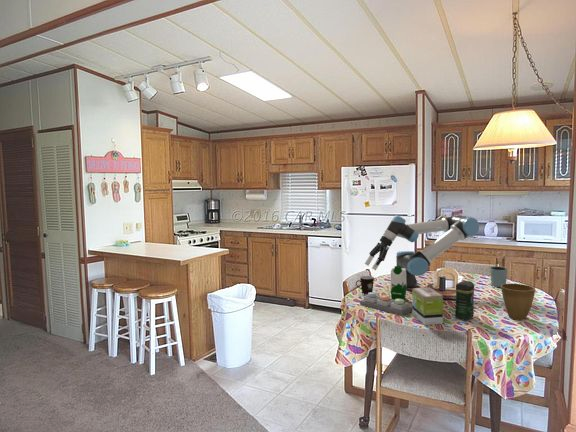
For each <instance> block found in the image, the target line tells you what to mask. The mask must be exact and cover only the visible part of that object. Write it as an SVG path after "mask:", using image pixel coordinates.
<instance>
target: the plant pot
mask: <svg viewBox="0 0 576 432" xmlns="http://www.w3.org/2000/svg"><path fill="white" fill-rule="evenodd" d="M500 289H501V295H502V300H503V304H504V306H505V307H504V308H505V310H506V314H507V316H508V317H509V318H510V319H512V320H515V321H525V320H527V318H528V315H529V313H530V311H531V308H532V306H533V301H534V299H535V294H536V293H535V292H536V288H535V287H534V286H531V285H527V284H522V283H506V284H503V285H501V288H500Z"/></svg>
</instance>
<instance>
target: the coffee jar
mask: <svg viewBox="0 0 576 432" xmlns="http://www.w3.org/2000/svg"><path fill="white" fill-rule="evenodd" d="M474 294H475V284H474V283H473V282H472V281H469V280H462V281H460V282H457V283H456V285H455V309H454V311H455V312H454V316H455V317H456V318H457V319H459V320H462V319H464V320H467V321H469V320H472V319H473V318H474V316H475V315H474V313H475V309H474V303H475V301H474V298H475V297H474V296H475V295H474Z"/></svg>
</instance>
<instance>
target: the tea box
mask: <svg viewBox="0 0 576 432" xmlns="http://www.w3.org/2000/svg"><path fill="white" fill-rule="evenodd" d="M411 289H412V290H411V291H412V292H411V295H412V299H411V300H412V302H411V304H412V306H411V307H412V313H411V314H412V316H413V317H414V318H416V320H417V321H419V322H420V323H421V324H422V325H424V326H431V325H442V324H444V295H442V294H441V293H439V292H438V291H436V290H435V289H433V288H431V287H419V288H416V287H412V288H411Z"/></svg>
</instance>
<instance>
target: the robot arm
mask: <svg viewBox="0 0 576 432" xmlns="http://www.w3.org/2000/svg"><path fill="white" fill-rule="evenodd" d="M406 221H407V220H406V219H404V218H403V217H402V216H400V215H394V216H393V218H392V220H391V221H390V223H389V224H388V226H387V228H386V229H385V230H384V231H383V235H382V236H381V237H380V239H379V241H378V242H377V243H376V245H375V246H374V247H373V248H372V249H371V250H370V252H369V255H368V257H367V259H366V260H365V263H364V264H365V265H366V266H370V264H371V262H372V261H373V259H374V258H375V256H376V255H377V254H378V253H379V254H378V257H377V259H376V260H375V262H374V264H373V265H372V267H371V269H372V270H374V271H377V270H378V268H379V266H380V265H381V262H384V261H385V259H386V257H387V254H388V251H389V249H390V247H391V246H392V244H393V242H394V241H395V239H396V238H397V237H400V238H402V239H405V240H407V242H410V243H414V242H416V241H417V240H418V239H419V235H423V234H431V233H436V232H437V233H439V232H444V233H443V234H442V235H441V236H440V237H438V238H437V239H436V240H434V241H433V242H431V244H429V245H428V246H427V247H425V248H424V249H423V250H417V251H416V252H415V251H413V250H402V251H397V252H396V257H395V258H396V259H395V260H396V266H401V267H402V268H404V269H406V289H409V288H411V289H412V288H416V287H417V286H418V281H417V277H420V276H423V275H425V274H426V273H427V272H428V268H429V267H430V266H431V264H432V261H434V260H436V259H437V257H439V256H440V255H442V254H443V253H444V252H445V251H447V250H448V249H450V247H451V248H452V246H453V245H455V244H456V243H457V242H459V241H460V240H461V241H464V240H465V239H467V238H468V237H473V236H476V235H477V234H478V232H479V231H480V223H479V221H478V220H477V218H475V217H472V216H465V215H453V216H448V217H447V216H446V217H442V218H441V219H437V220H431V221H430V220H429V221H422V222H421V221H420V222H416V223H408V224H406Z"/></svg>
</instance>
